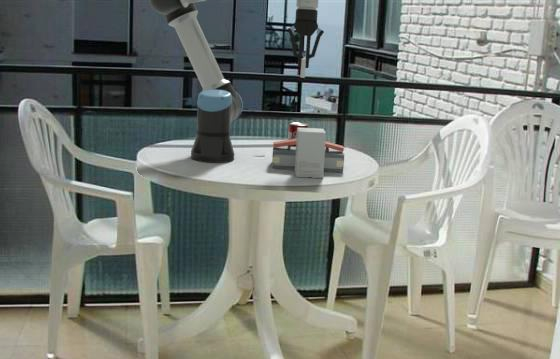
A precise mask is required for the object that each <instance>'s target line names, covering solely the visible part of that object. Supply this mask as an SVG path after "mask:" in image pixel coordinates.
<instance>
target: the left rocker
mask: <svg viewBox="0 0 560 359" xmlns="http://www.w3.org/2000/svg"><path fill="white" fill-rule="evenodd" d="M289 145H296V139H290V140H288V139H285V140H278V141H273V143H272V147H273V146H274V148H276V147H283V146H289Z"/></svg>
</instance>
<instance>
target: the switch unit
mask: <svg viewBox="0 0 560 359" xmlns="http://www.w3.org/2000/svg"><path fill="white" fill-rule="evenodd" d="M271 157H272V161H271V169H272V170H273V169H275V170H291V171H292V170H293V171H295V157H296V147H291V146H290V145H289V146H283V147H276V148H274V146H273V145H272V156H271ZM344 163H345V154H344V151H343V152H342V151H338V150H335V149H331V148H327V147H325V157H324V172H328V173H342V172H343V173H344V166H345V164H344Z"/></svg>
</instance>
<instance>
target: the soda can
mask: <svg viewBox="0 0 560 359" xmlns="http://www.w3.org/2000/svg"><path fill="white" fill-rule="evenodd" d="M297 127H298V128H310V127H309V124H308V123H303V122H290V123H289V124H288V132H287V133H288V134H287V140H290V139H297ZM290 146H291V147H296V145H290Z"/></svg>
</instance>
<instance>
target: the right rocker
mask: <svg viewBox="0 0 560 359" xmlns="http://www.w3.org/2000/svg"><path fill="white" fill-rule="evenodd" d="M326 147H327V148H329V149H335V150H338V151H342V152H343V153H344V150H345V147H344V145H340V144H336V143H334V142H330V141H326V142H325V148H326Z"/></svg>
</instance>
